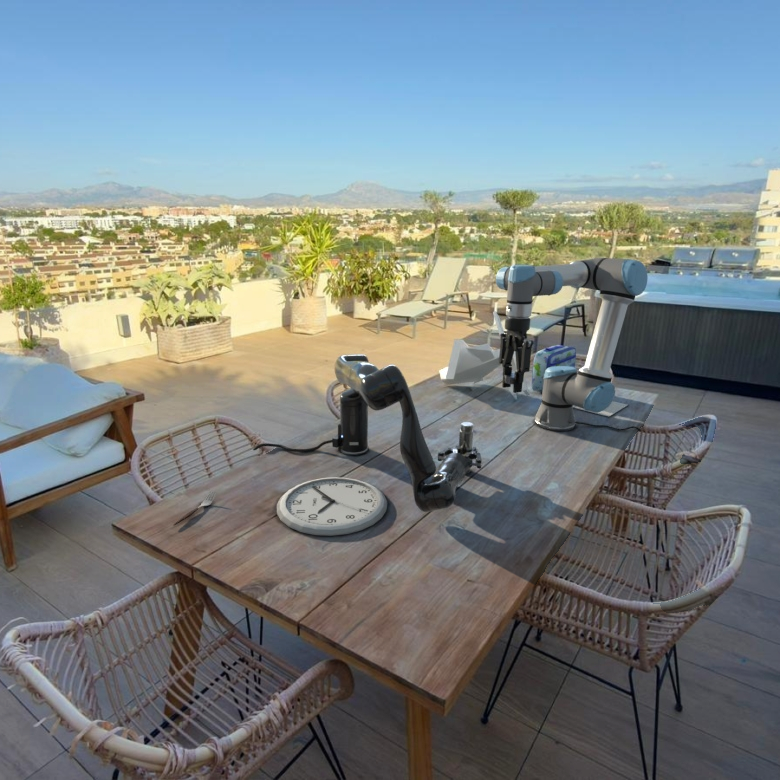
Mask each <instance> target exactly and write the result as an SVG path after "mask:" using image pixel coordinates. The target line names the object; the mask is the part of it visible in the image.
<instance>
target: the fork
mask: <svg viewBox="0 0 780 780" xmlns="http://www.w3.org/2000/svg"><path fill="white" fill-rule="evenodd" d="M217 494H218V492H214V491H212V490H210V491H209V493H208V494H207V496H206V497H205V499H204V500H203V501H202V502H201V504H200V505H199V506H198V507H195V508H194V509H192V510H191V511H189V512H187V513H186V514H184V515H183V516H182V517H181V518H179V519H178V520H177V521H176V522H175V523H174V524H173V526H176V525H178V524H180V523H181V522H182V521H184V520H186V519H188V518H190V517H191V516H192V515H194V514H195V513H197V511H198V510H199V509H200V508H202V507H209V506H210V505H211V504H212V503H213V502H214V500H215V498H216V496H217Z"/></svg>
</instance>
